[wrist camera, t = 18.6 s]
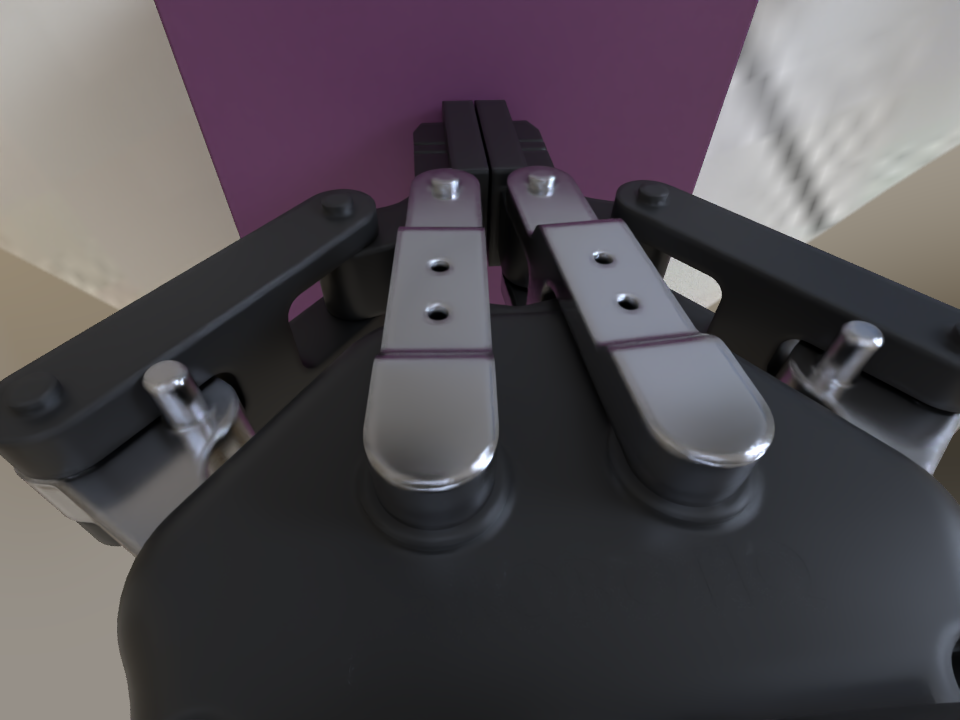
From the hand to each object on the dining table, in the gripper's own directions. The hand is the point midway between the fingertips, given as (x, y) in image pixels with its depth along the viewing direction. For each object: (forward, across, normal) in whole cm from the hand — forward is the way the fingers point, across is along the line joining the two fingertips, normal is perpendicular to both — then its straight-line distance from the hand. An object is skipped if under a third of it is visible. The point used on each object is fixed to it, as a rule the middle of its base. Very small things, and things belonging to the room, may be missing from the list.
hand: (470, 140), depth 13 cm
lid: (+1, 0, +4) cm, 4 cm away
